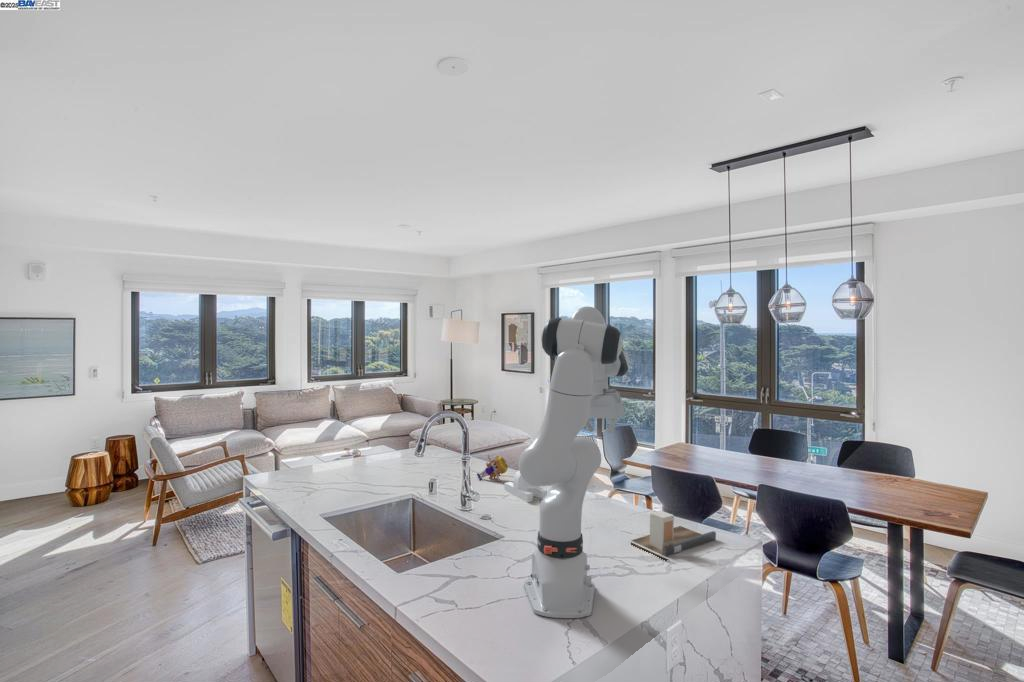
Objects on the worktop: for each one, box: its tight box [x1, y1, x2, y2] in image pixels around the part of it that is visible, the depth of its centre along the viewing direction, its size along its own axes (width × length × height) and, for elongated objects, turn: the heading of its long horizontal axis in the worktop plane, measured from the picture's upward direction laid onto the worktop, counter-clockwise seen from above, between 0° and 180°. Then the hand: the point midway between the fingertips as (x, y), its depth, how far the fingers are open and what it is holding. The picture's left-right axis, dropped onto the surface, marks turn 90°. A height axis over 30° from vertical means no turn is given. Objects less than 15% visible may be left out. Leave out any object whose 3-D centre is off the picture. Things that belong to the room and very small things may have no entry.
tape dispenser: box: [503, 469, 548, 503], centre depth 214 cm, size 18×10×11 cm, turn 32°
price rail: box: [662, 530, 717, 557], centre depth 158 cm, size 1×24×2 cm, turn 123°
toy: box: [476, 454, 508, 482], centre depth 237 cm, size 14×8×15 cm
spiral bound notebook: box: [630, 525, 703, 562], centre depth 164 cm, size 14×24×2 cm, turn 123°
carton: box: [649, 510, 675, 551], centre depth 159 cm, size 5×5×10 cm
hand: (600, 431), depth 166 cm, fingers open, 8 cm apart
